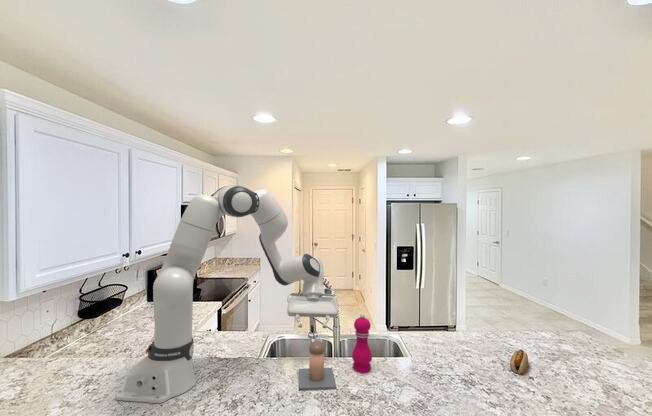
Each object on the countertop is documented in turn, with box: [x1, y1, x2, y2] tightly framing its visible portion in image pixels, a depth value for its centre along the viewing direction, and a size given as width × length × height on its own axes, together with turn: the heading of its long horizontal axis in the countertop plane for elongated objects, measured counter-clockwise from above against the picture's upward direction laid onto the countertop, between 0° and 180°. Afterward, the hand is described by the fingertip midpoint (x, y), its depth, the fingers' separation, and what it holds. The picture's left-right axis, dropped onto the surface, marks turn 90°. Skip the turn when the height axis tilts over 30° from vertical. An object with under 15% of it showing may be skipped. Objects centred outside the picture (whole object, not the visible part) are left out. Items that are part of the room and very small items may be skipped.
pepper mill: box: [351, 313, 373, 374], centre depth 110 cm, size 7×7×20 cm
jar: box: [308, 340, 326, 381], centre depth 102 cm, size 5×5×11 cm
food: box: [509, 349, 529, 374], centre depth 113 cm, size 14×6×5 cm, turn 142°
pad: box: [298, 367, 337, 392], centre depth 102 cm, size 12×12×1 cm
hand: (312, 327), depth 115 cm, fingers open, 8 cm apart
